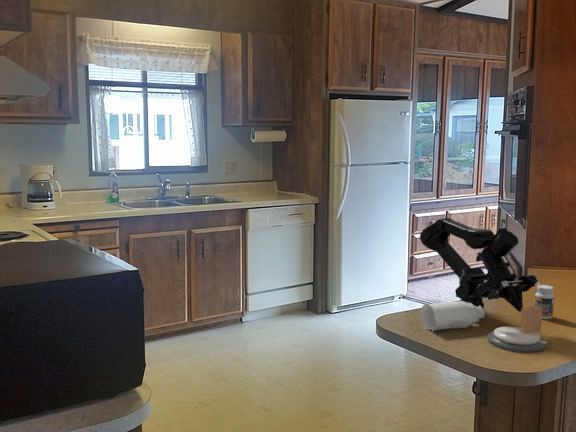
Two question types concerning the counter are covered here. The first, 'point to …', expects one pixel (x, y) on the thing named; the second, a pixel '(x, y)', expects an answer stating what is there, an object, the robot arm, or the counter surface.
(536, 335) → the dial
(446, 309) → the white bottle
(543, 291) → the pill bottle
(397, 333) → the counter surface
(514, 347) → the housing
